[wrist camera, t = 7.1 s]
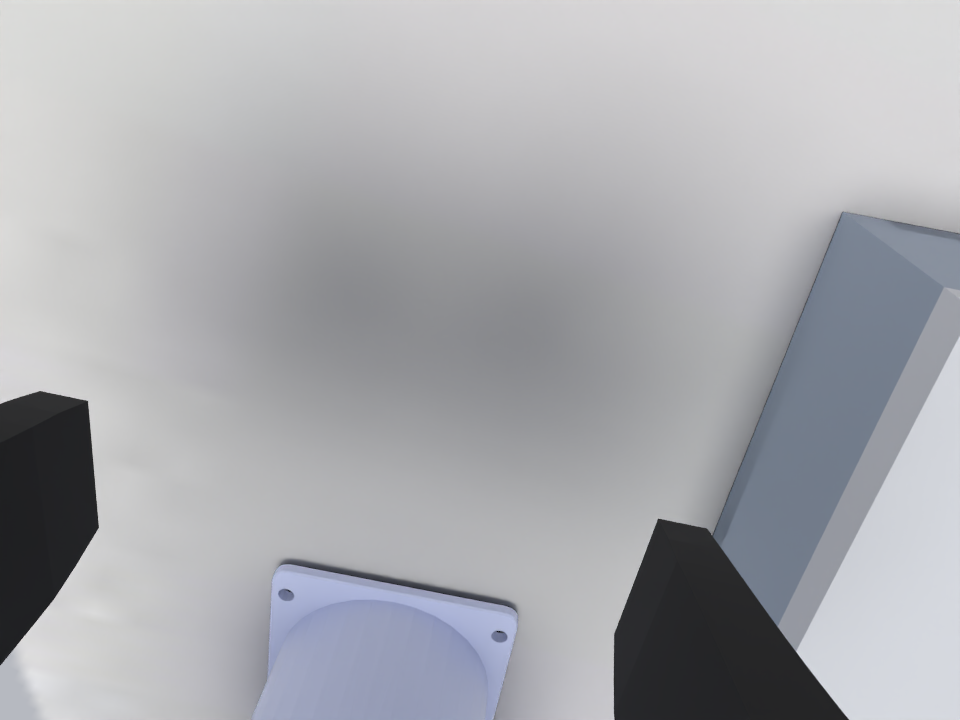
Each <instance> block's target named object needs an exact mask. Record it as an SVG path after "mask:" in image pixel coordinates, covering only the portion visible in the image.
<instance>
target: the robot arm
mask: <svg viewBox="0 0 960 720" xmlns="http://www.w3.org/2000/svg"><path fill="white" fill-rule="evenodd" d="M98 528H99V525H98V513H97V501H96V490H95V478H94V466H93V455H92V443H91V432H90V420H89V408H88V401H85V400H80V399H75V398H71V397H66V396H61V395H56V394H51V393H46V392H42V391H39V392H36V393H32V394H29V395H26V396H22V397H19V398H16V399H13V400H10V401H7V402H4V403H2V404H0V665H1V664H2V663H3V661H4V660H5V659H6V658H7V657H8V655H9V654H10V653H11V652H12V650H13V649H14V648H15V647H16V646H17V644H18V643H19V642H20V641H21V639H22V638H23V637H24V636H25V634H26V633H27V632H28V631H29V630H30V628H31V627H32V626H33V625H34V623H35V622H36V621H37V620H38V618H39V617H40V616H41V615H42V613H43V612H44V611H45V610H46V608H47V607H48V606H49V605H50V603H51V602H52V601H53V600H54V598H55V597H56V595H57V594H58V592H59V591H60V589H61V588H62V586H63V584H64V583H65V581H66V580H67V578H68V577H69V575H70V574H71V572H72V571H73V569H74V568H75V566H76V564H77V563H78V561H79V559H80V558H81V556H82V554H83V553H84V551H85V549H86V548H87V546H88V545H89V543H90V541H91V540H92V538H93V536H94V535H95V533H96V531H97V530H98ZM285 589H288V590H290V591H291V592H288V591H286V590H285ZM517 628H518V615H517V613H516V611H514V610H513V609H512V608H510V607H507V606H503V605H498V604H493V603H487V602H482V601H477V600H472V599H467V598H462V597H457V596H451V595H446V594H441V593H436V592H431V591H426V590H420V589H415V588H410V587H405V586H400V585H395V584H390V583H384V582H379V581H374V580H369V579H364V578H359V577H354V576H348V575H343V574H338V573H333V572H328V571H323V570H317V569H312V568H307V567H302V566H297V565H292V564H284V565H281V566H279V567H278V568H277V569H276V571H275V573H274V575H273V578H272V591H271V613H270V634H269V656H268V678H267V682H266V684H265V687H264V689H263V692H262V694H261V696H260V699H259V701H258V703H257V706H256V708H255V710H254V713H253V715H252V718H251V720H493V719H494V715H495V711H496V708H497V704H498V700H499V696H500V692H501V689H502V685H503V681H504V677H505V673H506V670H507V666H508V662H509V658H510V654H511V651H512V647H513V643H514V639H515V635H516V632H517ZM495 631H503V632H504V633H498V632H495ZM614 717H615V720H849V719H848V718H847V717H846V715H845V714H844V713H843V712H842V710H841V709H840V708H839V707H838V705H837V704H836V703H835V702H834V700H833V699H832V698H831V696H830V695H829V694H828V693H827V691H826V690H825V689H824V688H823V686H822V685H821V684H820V683H819V681H818V680H817V679H816V677H815V676H814V675H813V673H812V672H811V671H810V669H809V668H808V667H807V666H806V664H805V663H804V662H803V660H802V659H801V658H800V656H799V655H798V654H797V652H796V651H795V650H794V648H793V647H792V646H791V644H790V643H789V642H788V640H787V639H786V638H785V636H784V635H783V633H782V632H781V631H780V629H779V628H778V627H777V625H776V624H775V623H774V621H773V620H772V618H771V617H770V616H769V614H768V613H767V611H766V610H765V609H764V607H763V606H762V604H761V603H760V602H759V600H758V599H757V598H756V596H755V595H754V593H753V592H752V591H751V589H750V588H749V586H748V585H747V584H746V582H745V581H744V579H743V578H742V577H741V575H740V574H739V572H738V571H737V569H736V568H735V567H734V565H733V564H732V562H731V561H730V560H729V558H728V557H727V555H726V554H725V553H724V551H723V550H722V548H721V547H720V546H719V544H718V543H717V542H716V540H715V539H714V538H713V536H712V535H711V534H710V532H709V531H708V530H707V529H706V528H701V527H696V526H691V525H686V524H681V523H676V522H672V521H667V520H662V519H658V521H657V524H656V526H655V529H654V531H653V534H652V537H651V539H650V542H649V545H648V547H647V550H646V552H645V555H644V558H643V560H642V563H641V566H640V568H639V571H638V573H637V576H636V579H635V581H634V584H633V587H632V589H631V592H630V594H629V597H628V600H627V602H626V605H625V608H624V610H623V613H622V615H621V618H620V621H619V623H618V626H617V629H616V631H615V634H614Z"/></svg>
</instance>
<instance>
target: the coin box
mask: <svg viewBox="0 0 960 720" xmlns="http://www.w3.org/2000/svg"><path fill="white" fill-rule="evenodd" d="M713 538H714V539H715V540H716V542H717V543H718V544H719V546H720V547H721V548H722V550H723V551H724V553H725V554H726V555H727V557H728V558H729V560H730V561H731V562H732V564H733V565H734V567H735V568H736V569H737V571H738V572H739V574H740V575H741V577H742V578H743V579H744V581H745V582H746V584H747V585H748V586H749V588H750V589H751V591H752V592H753V593H754V595H755V596H756V598H757V599H758V600H759V602H760V603H761V604H762V606H763V607H764V609H765V610H766V611H767V613H768V614H769V616H770V617H771V618H772V620H773V621H774V623H775V624H776V625H777V627H778V628H779V629H780V631H781V632H782V633H783V635H784V636H785V638H786V639H787V640H788V642H789V643H790V644H791V646H792V647H793V648H794V650H795V651H796V652H797V654H798V655H799V656H800V658H801V659H802V660H803V662H804V663H805V664H806V666H807V667H808V668H809V669H810V671H811V672H812V673H813V675H814V676H815V677H816V679H817V680H818V681H819V683H820V684H821V685H822V686H823V688H824V689H825V690H826V691H827V693H828V694H829V695H830V696H831V698H832V699H833V700H834V702H835V703H836V704H837V705H838V707H839V708H840V709H841V710H842V712H843V713H844V714H845V715H846V717H847V718H848V719H849V720H960V234H958V233H952V232H947V231H942V230H936V229H931V228H926V227H920V226H915V225H910V224H904V223H899V222H894V221H889V220H883V219H878V218H873V217H867V216H862V215H857V214H851V213H846V212H843V213H842V216H841V218H840V221H839V223H838V226H837V228H836V231H835V233H834V235H833V238H832V240H831V243H830V245H829V248H828V250H827V253H826V255H825V258H824V260H823V263H822V265H821V268H820V270H819V273H818V275H817V278H816V280H815V283H814V285H813V288H812V290H811V293H810V295H809V298H808V300H807V303H806V305H805V308H804V310H803V313H802V315H801V318H800V320H799V323H798V325H797V328H796V330H795V333H794V335H793V338H792V340H791V343H790V345H789V347H788V350H787V352H786V355H785V357H784V360H783V362H782V365H781V367H780V370H779V372H778V375H777V377H776V380H775V382H774V385H773V387H772V390H771V392H770V395H769V397H768V400H767V402H766V405H765V407H764V410H763V412H762V415H761V417H760V420H759V422H758V425H757V427H756V430H755V432H754V435H753V437H752V440H751V442H750V445H749V447H748V450H747V452H746V454H745V457H744V459H743V462H742V464H741V467H740V469H739V472H738V474H737V477H736V479H735V482H734V484H733V487H732V489H731V492H730V494H729V497H728V499H727V502H726V504H725V507H724V509H723V512H722V514H721V517H720V519H719V522H718V524H717V527H716V529H715V532H714V534H713Z"/></svg>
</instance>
